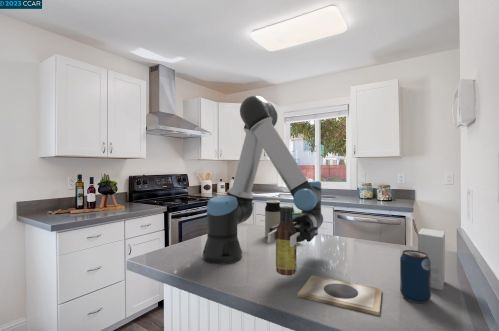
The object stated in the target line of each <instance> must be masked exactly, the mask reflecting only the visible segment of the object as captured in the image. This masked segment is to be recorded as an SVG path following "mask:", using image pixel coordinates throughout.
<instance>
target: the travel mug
mask: <svg viewBox="0 0 499 331" xmlns="http://www.w3.org/2000/svg"><path fill="white" fill-rule="evenodd" d="M265 203H266V204H265V207H264V209H265V210H264V230H265V231H264V236H265V238H267V239H268V233H269V228H270V227H273V226H275V225H278V224H279V223H280V207H281V206H280V204H281V201H280V200H278V199H277V200H274V199H272V200H271V199H270V200H269V199H268V200H266V201H265Z"/></svg>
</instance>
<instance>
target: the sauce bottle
mask: <svg viewBox="0 0 499 331" xmlns="http://www.w3.org/2000/svg"><path fill="white" fill-rule="evenodd" d="M293 208H294V206H293V207H292V206H285V205H283V206H280V224H279V225H278V227H277V230H276V240H275V267H276V269H275V270H276V273H277V274H278V275H282V276H293V275H295V274H296V272H297V250H298V249H297V244H298V243H297V244H296V245H294V246H293V247H290V237H291V236H292V235H294V234H295V233H296V230H295V227H294V224H293V219H292V213H293Z"/></svg>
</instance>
